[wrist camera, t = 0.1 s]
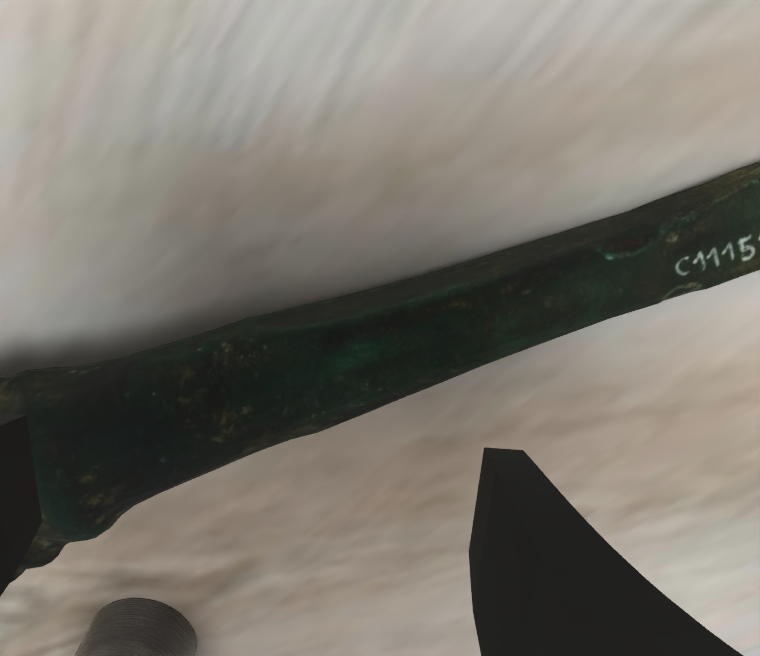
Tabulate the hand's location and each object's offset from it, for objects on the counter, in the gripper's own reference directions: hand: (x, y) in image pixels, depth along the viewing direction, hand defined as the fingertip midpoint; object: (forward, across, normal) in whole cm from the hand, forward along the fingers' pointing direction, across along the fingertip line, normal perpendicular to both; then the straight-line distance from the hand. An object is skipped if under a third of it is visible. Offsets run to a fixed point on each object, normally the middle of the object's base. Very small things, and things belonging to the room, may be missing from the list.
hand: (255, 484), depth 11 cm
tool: (+11, 0, +1) cm, 11 cm away
